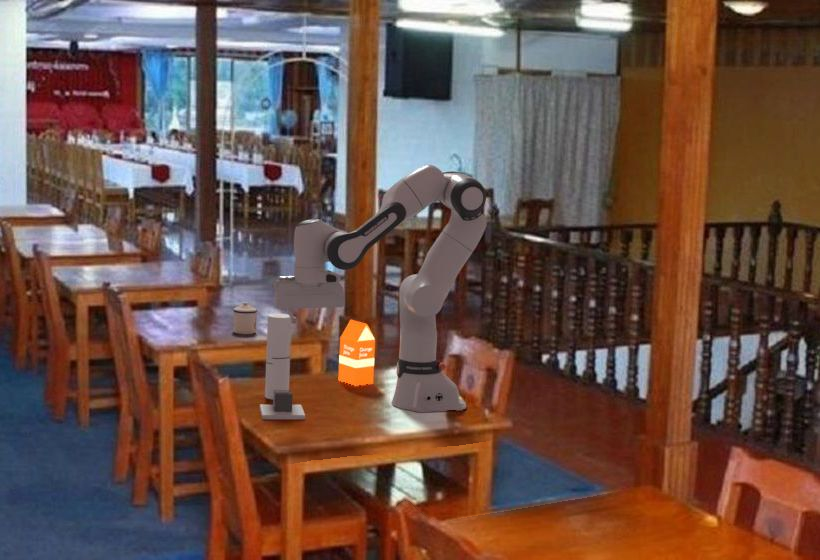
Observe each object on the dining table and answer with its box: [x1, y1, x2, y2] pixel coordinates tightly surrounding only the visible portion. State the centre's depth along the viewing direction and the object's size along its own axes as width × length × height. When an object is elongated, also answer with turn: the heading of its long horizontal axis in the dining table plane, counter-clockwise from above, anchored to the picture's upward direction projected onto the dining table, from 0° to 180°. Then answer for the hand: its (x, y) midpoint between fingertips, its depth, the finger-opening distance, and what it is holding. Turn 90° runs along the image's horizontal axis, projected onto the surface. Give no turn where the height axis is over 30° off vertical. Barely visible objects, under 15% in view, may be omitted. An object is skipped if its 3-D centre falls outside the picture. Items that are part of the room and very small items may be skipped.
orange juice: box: [337, 319, 376, 387], centre depth 388 cm, size 8×9×20 cm
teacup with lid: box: [232, 301, 258, 335], centre depth 463 cm, size 12×9×12 cm
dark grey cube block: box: [272, 390, 293, 412], centre depth 345 cm, size 5×5×5 cm
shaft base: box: [259, 403, 306, 420], centre depth 345 cm, size 12×12×5 cm
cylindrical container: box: [264, 313, 292, 400], centre depth 363 cm, size 7×7×25 cm
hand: (309, 323), depth 349 cm, fingers open, 8 cm apart
